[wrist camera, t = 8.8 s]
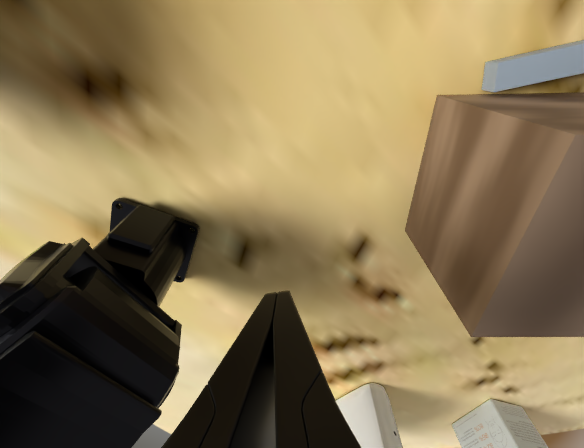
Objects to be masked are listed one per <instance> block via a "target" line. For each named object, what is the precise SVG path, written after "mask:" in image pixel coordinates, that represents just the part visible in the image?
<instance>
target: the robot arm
mask: <svg viewBox="0 0 584 448" xmlns="http://www.w3.org/2000/svg"><path fill="white" fill-rule="evenodd" d="M119 204H121V205H122V207H121V206H120V205H119ZM190 228H193V229H194V230H195V231H192V230H191V229H190ZM198 233H199V226H198V225H197V224H195V223H192V222H189V221H187V220H184V219H181V218H178V217H175V216H173V215H170V214H167V213H164V212H161V211H158V210H155V209H152V208H149V207H147V206H144V205H140V204H137V203H134V202H131V201H128V200H125V199H122V198H118V199H116V200H115V201H114V202H113V203H112V211H111V223H110V232H109V233H108V235H107V236H106V237H105V238H104V239H103V240H102V241H101V242H100V243H99V244H98V245H97V246H96V247H94V248H93V249H92V248H91V247H90V246H89V245H90V244H89V243H88V242H87V241H86V240H85V239H84V238H81V239H79V240H77V241H75V242H74V243H72V244H71V243H68V244H65V243H64V244H60V243H55V242H51V241H49V242H47V243H46V244H44V245H42V246H41V247H40V248H38V249H37V250H36V251H34V252H33V253H32V254H30V255H29V256H28V257H26V258H25V259H24V260H22V261H21V262H20V263H19V264H17V265H16V266H15V267H14V268H13V269H11V270H10V271H9V272H8V273H7V274H6V275H5V276H4V277H3V278H2V279H1V280H0V448H131V447H132V446H133V445H134V444H135V443H136V441H137V440H138V439H139V438H140V436H141V435H142V434H143V433H144V432H145V431H146V430H147V429H148V428H149V427H150V426H151V425H152V424H153V423H154V422H155V421H156V420H157V419H158V418H159V417H160V415H161V410H160V409H158V408H159V407H160V406H161V405H162V403H163V402H164V401H165V399H166V398H167V396H168V395H169V393H170V391H171V389H172V387H173V385H174V382H175V380H176V377H177V375H178V372H179V365H178V359H179V350H180V337H181V326H182V325H181V324H180V323H179V322H178V321H177V320H173V319H172V318H171V317H170V316H169V315H167V314H166V313H165V312H164V311H163V310H162V309H161V308H160V307H159V306H160V304H161V302H162V301H163V299H164V297H165V295H166V293H167V291H168V290H169V288H170V286H171V284H172V282H173V281H176V282H183V281H184V279H185V277H186V274H187V271H188V267H189V264H190V261H191V257H192V254H193V250H194V247H195V244H196V240H197V237H198ZM178 276H180V277H178ZM161 448H361V446H360V444H359V443H358V441H357V439H356V437H355V436H354V434H353V432H352V430H351V429H350V427H349V425H348V423H347V422H346V420H345V418H344V416H343V414H342V412H341V410H340V409H339V407H338V405H337V403H336V401H335V399H334V396H333V394H332V392H331V390H330V388H329V385H328V383H327V381H326V378H325V376H324V374H323V372H322V369H321V366H320V364H319V362H318V359H317V357H316V354H315V352H314V349H313V347H312V345H311V342H310V340H309V337H308V335H307V332H306V330H305V328H304V325H303V323H302V320H301V318H300V315H299V313H298V311H297V308H296V306H295V303H294V301H293V298H292V296H291V294H290V292H289V291H281V292H278V293H276V292H274V293H268V294H265V295H264V297H263V298H262V300H261V302H260V303H259V305H258V306H257V308H256V309H255V311H254V312H253V314H252V315H251V317H250V318H249V320H248V322H247V323H246V325H245V326H244V328H243V329H242V331H241V332H240V334H239V335H238V337H237V338H236V340H235V342H234V343H233V345H232V346H231V348H230V349H229V351H228V352H227V354H226V355H225V357H224V358H223V360H222V361H221V363H220V365H219V366H218V368H217V369H216V371H215V372H214V374H213V375H212V377H211V378H210V380H209V381H208V385H206V386H205V387H204V389H203V390H202V392H201V394H200V395H199V397H198V398H197V400H196V401H195V403H194V404H193V405H192V407H191V408H190V410H189V411H188V413H187V414H186V416H185V417H184V418H183V420H182V421H181V422H180V424H179V425H178V426H177V428H176V429H175V430H174V432H173V433H172V434H171V436H170V437H169V438H168V440H167V441H166V442H165V444H164V445H163V446H162V447H161Z"/></svg>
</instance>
